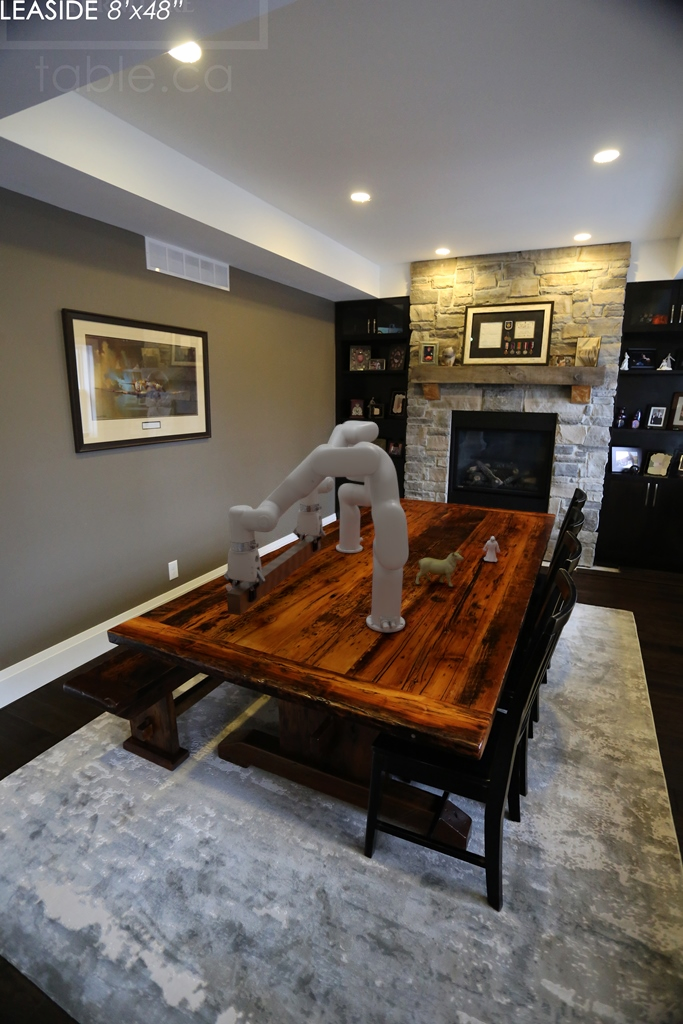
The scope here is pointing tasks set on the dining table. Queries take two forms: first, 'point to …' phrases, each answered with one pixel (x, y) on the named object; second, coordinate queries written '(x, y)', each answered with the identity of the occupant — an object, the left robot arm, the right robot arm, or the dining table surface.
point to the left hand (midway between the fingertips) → (309, 549)
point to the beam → (272, 575)
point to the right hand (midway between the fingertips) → (245, 599)
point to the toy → (439, 567)
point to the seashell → (228, 587)
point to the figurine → (491, 550)
